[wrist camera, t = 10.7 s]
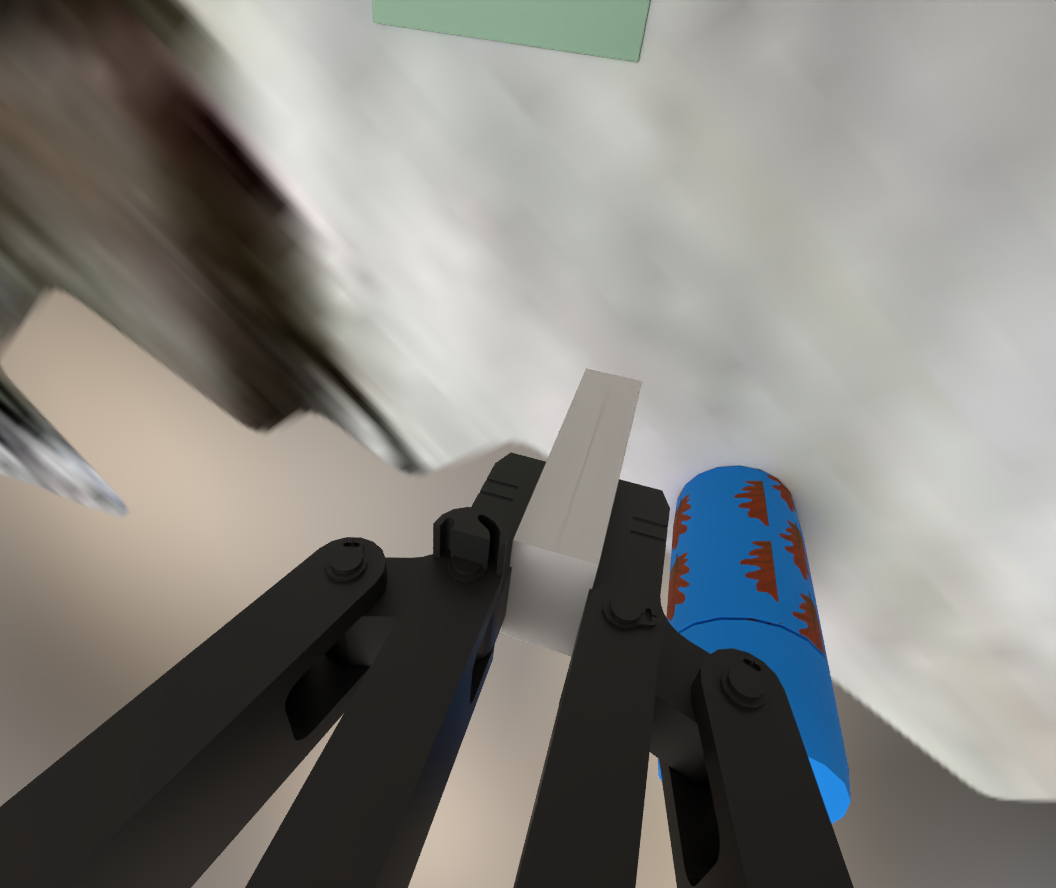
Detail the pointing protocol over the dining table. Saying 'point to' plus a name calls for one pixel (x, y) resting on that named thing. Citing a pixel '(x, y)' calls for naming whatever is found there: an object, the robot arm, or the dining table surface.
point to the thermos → (758, 602)
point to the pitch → (530, 22)
